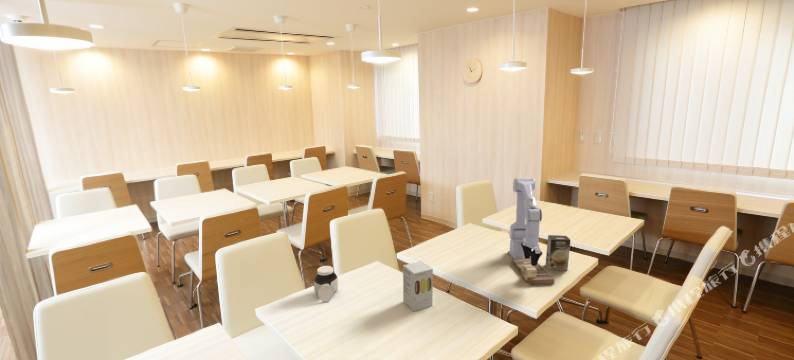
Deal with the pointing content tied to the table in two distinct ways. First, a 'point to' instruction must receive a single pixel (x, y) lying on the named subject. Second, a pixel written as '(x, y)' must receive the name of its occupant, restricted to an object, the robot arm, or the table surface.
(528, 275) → the beige block
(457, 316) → the table surface
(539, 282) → the walnut board
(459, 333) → the table surface
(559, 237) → the coffee box
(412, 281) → the supplement box
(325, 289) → the spread jar
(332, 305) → the table surface
